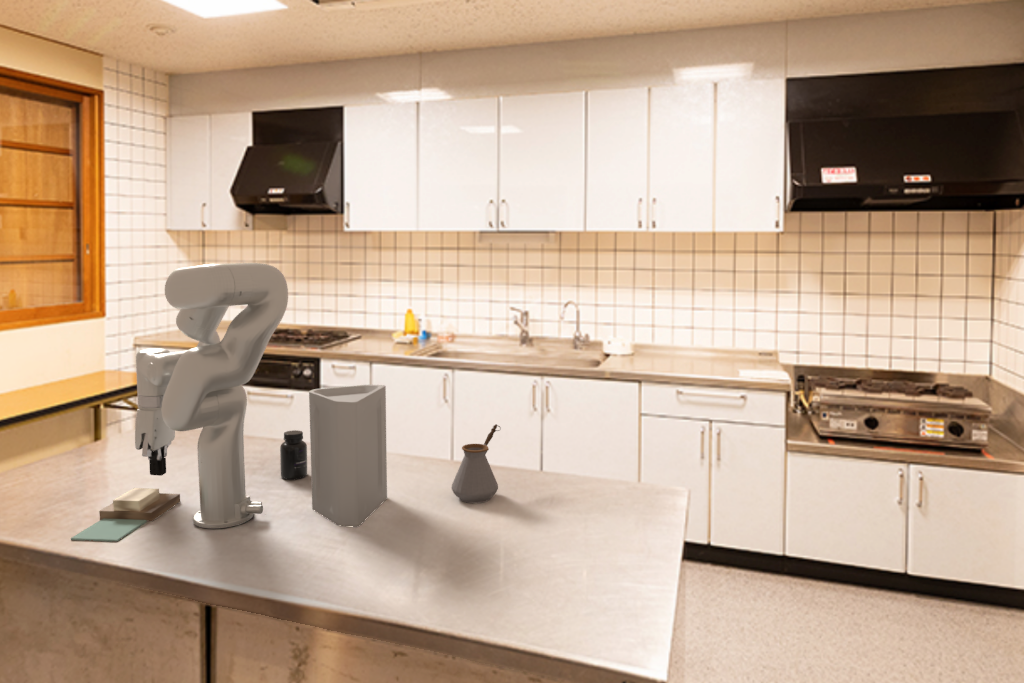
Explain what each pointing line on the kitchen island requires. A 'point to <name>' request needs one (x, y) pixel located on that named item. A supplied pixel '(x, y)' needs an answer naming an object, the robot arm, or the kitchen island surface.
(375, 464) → the grey triangular vase
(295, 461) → the supplement bottle
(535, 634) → the kitchen island surface
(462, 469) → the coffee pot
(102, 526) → the rubber mat
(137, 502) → the birch tile
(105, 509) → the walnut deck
